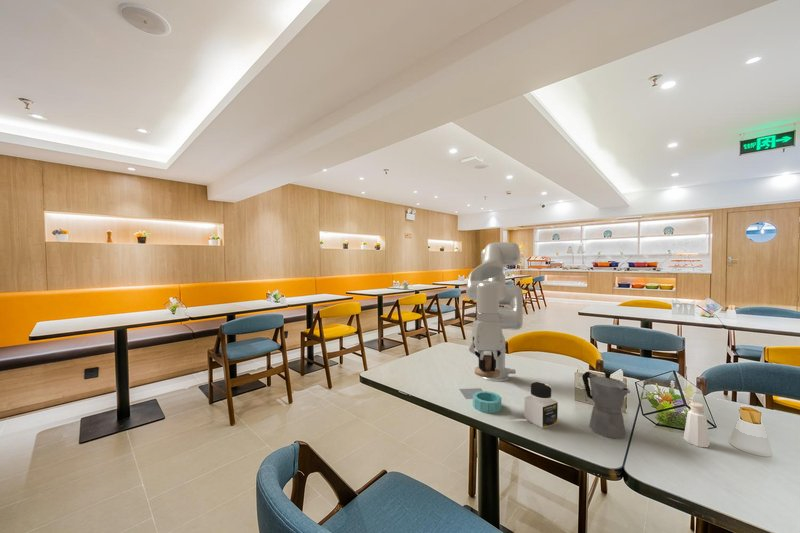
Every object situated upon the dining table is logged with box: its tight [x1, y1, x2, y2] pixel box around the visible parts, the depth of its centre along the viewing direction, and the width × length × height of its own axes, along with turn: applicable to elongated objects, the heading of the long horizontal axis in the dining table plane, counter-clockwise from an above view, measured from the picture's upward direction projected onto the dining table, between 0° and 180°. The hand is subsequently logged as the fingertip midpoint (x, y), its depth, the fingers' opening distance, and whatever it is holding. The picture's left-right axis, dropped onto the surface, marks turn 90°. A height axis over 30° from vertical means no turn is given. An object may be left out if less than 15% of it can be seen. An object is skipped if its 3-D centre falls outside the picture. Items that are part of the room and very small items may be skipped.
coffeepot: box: [581, 371, 631, 440], centre depth 94 cm, size 15×9×18 cm, turn 16°
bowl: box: [472, 390, 503, 414], centre depth 107 cm, size 10×10×4 cm
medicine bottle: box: [523, 381, 559, 429], centre depth 98 cm, size 7×7×12 cm
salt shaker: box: [683, 401, 711, 448], centre depth 87 cm, size 5×5×11 cm
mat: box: [459, 387, 484, 400], centre depth 118 cm, size 9×9×1 cm
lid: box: [474, 355, 500, 378], centre depth 107 cm, size 8×8×6 cm
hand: (487, 369), depth 107 cm, fingers closed on lid, 3 cm apart
